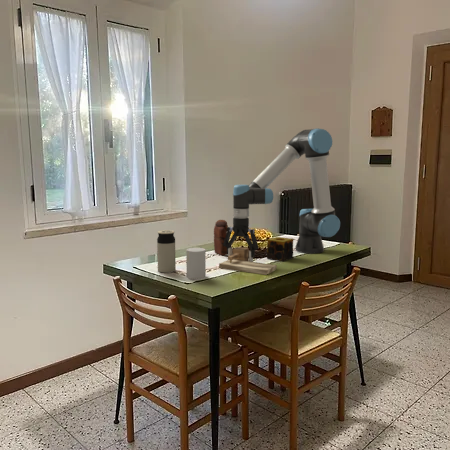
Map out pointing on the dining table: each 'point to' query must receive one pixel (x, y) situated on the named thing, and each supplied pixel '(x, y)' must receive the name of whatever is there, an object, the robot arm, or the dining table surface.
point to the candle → (279, 248)
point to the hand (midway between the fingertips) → (240, 262)
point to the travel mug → (166, 251)
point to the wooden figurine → (220, 237)
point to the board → (248, 266)
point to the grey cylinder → (196, 263)
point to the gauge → (239, 254)
